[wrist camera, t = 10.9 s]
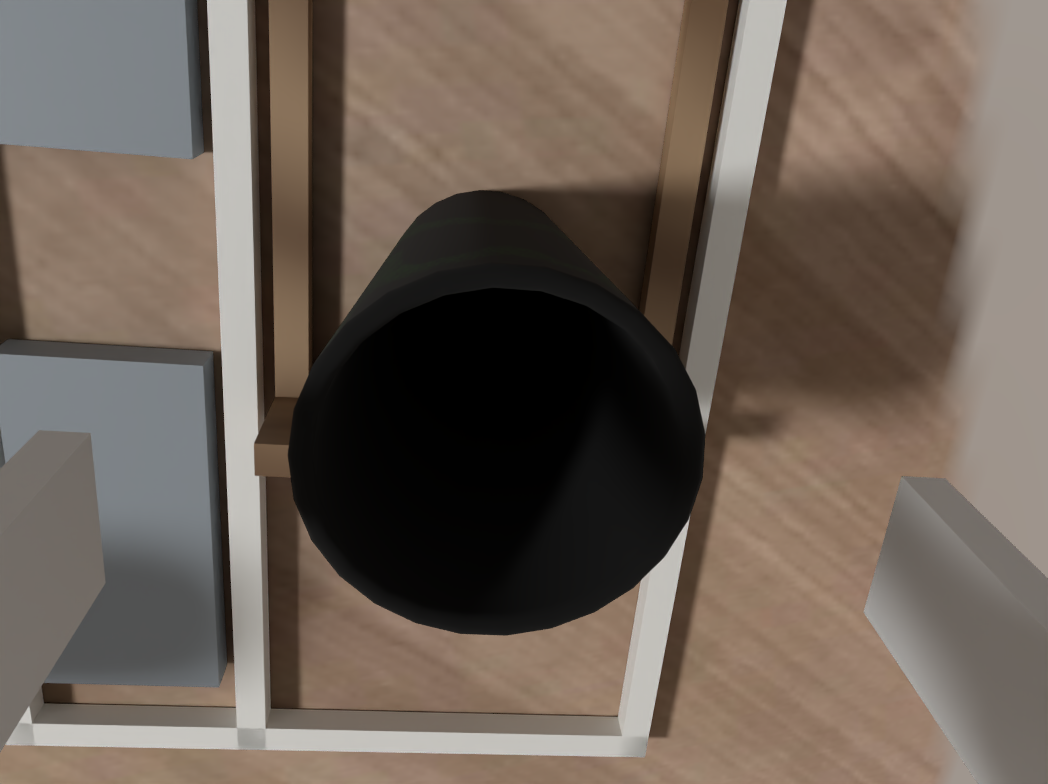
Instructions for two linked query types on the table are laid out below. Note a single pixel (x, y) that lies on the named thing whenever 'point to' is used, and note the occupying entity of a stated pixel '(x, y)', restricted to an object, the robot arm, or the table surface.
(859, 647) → the table surface
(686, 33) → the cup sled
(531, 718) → the lane frame
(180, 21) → the grey l-shaped sled
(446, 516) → the cup
